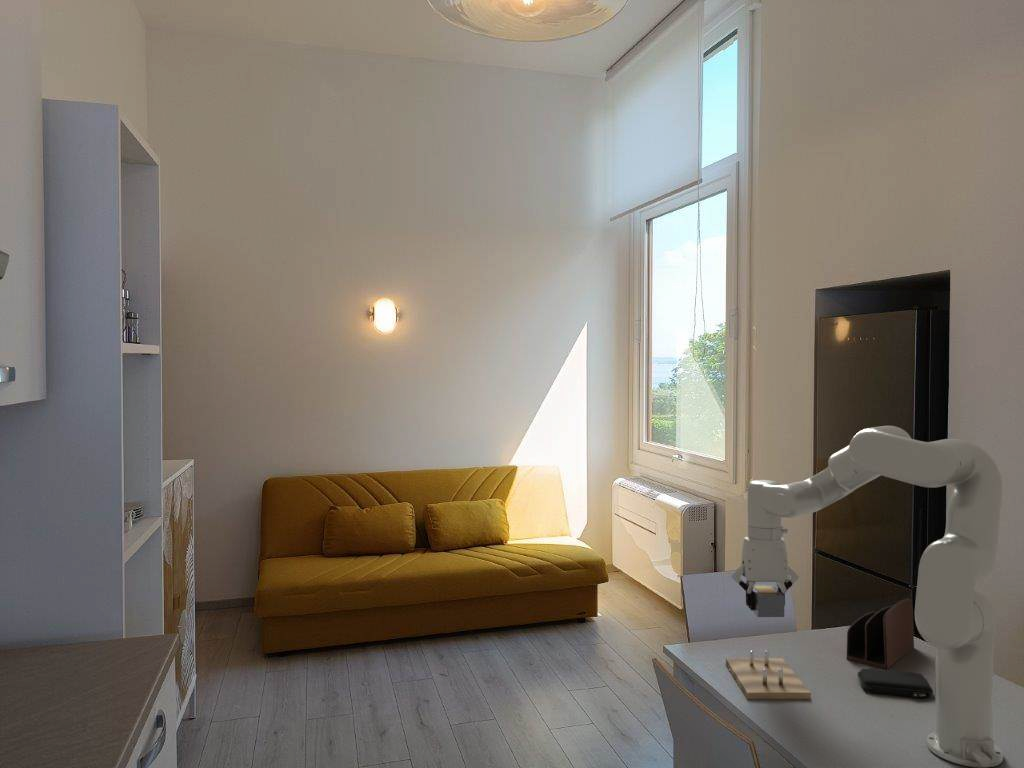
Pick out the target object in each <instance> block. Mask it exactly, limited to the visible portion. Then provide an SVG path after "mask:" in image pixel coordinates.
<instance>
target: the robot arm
mask: <svg viewBox="0 0 1024 768" xmlns="http://www.w3.org/2000/svg"><path fill="white" fill-rule="evenodd" d="M827 462H828V463H827V464H828V466H827V467H826V468H824V469H823V470H822V471H820V472H818V473H816V474H814V475H813V476H811V477H809V478H807V479H805V480H802V481H796V482H795V481H794V482H790V483H787V484H780V483H779V482H777V481H775V480H770V479H754V480H751V481H749V483H748V485H747V536H745V537H744V538H743V543H742V550H741V560H740V562H741V563H740V566H739V568H738V569H736V571H735V572H733V573H732V574H731V579H732V580H734V581H735V582H736V584H738V585H739V586H740V587H741V588H742V589H743V590H744V591H745V605H746V606H747V607H748V609H750V611H752V610H754V594H753V588H754V585H755V584H756V583H775V584H776V586H777V587H776V588H777V589H778V590H779V591H780V592H781V593H782V594H783V595H784V607H785V606H786V594H787V592H788V590H789V589H790V588H791V587H792V586H793V584H795V582H797V580H799V579H800V576H799V575H798V574H797V573H796V572H795V571H794V570H793V569H792V568H791V567H790V566H789V559H788V552H787V546H786V542H785V539H784V538H783V536H784V534H786V535H787V534H788V528H787V527H783V526H782V518H783V519H792V518H793V519H794V518H796V517H801V516H804V515H809V514H813V513H815V512H818V511H821V510H823V509H824V508H826V507H829V506H831V505H832V504H834V503H836V502H838V501H840V500H841V499H842V500H843V498H845V497H847V496H848V495H849V494H852V493H853V492H854V491H855V490H857V489H859V488H860V487H862V486H864V485H866V484H868V483H870V482H872V481H874V480H875V479H878V477H881V476H883V477H886V478H889V479H893V480H897V481H900V482H903V483H907V484H911V485H914V486H918V487H923V488H941V487H944V486H948V485H952V493H951V496H950V500H949V503H948V504H947V505H948V506H947V514H946V524H945V530H944V531H945V532H944V536H943V537H942V538H940V539H937V540H935V541H933V542H931V543H930V544H929V545H928V546H927V547H926V548H925V550H924V551H923V553H922V555H921V558H920V560H919V563H918V571H917V574H918V575H917V583H916V584H917V585H916V593H915V604H914V621H915V626H916V628H917V631H918V633H919V634H920V636H921V637H922V638H923V640H925V641H926V643H928V644H929V645H931V646H932V647H934V648H935V654H934V655H935V657H934V659H935V661H934V662H935V663H934V668H935V669H934V671H935V672H934V676H935V677H934V678H935V679H934V681H935V683H934V685H935V687H934V688H935V690H934V692H935V694H934V699H935V700H934V704H935V709H934V710H935V713H934V714H935V730H934V731H932V732H931V733H929V734H928V735H927V736H926V746H927V747H928V749H929V750H930V751H931V752H932V753H934V754H935V755H936V756H938V757H939V758H941V759H944V760H945V761H948V762H950V763H953V764H956V765H960V766H964V767H971V768H994V767H997V766H999V765H1000V764H1002V762H1003V761H1004V752H1003V751H1002V749H1001V748H1000V747H999V746H998V745H997V744H996V743H995V740H994V653H995V649H994V648H995V643H996V642H995V641H996V636H997V635H996V634H997V625H998V623H997V622H998V616H997V610H996V607H995V604H994V603H993V601H992V600H991V598H990V597H989V596H988V594H985V593H984V592H983V591H982V590H980V589H978V588H976V586H977V585H978V584H981V583H983V582H985V581H987V580H988V579H989V578H990V577H991V576H993V574H994V572H995V570H996V566H997V556H998V555H997V554H998V545H999V544H998V542H999V535H1000V521H1001V520H1000V519H1001V517H1000V516H1001V510H1002V509H1001V508H1002V499H1003V479H1002V475H1001V471H1000V469H999V467H998V465H997V463H996V462H995V460H994V459H993V458H992V456H991V455H990V454H989V453H988V452H987V451H986V450H985V449H983V448H982V447H980V446H979V445H977V444H976V443H974V442H971V441H968V440H965V439H960V438H944V439H939V440H934V441H922V440H918V439H914V438H912V437H911V436H910V435H909V433H908V432H907V431H906V430H904V429H902V427H898V426H895V425H882V426H881V425H880V426H874V427H867V428H863V429H862V430H859V431H858V432H857V433H856V434H855V435H853V437H852V438H851V440H850V442H849V445H846V446H845V447H843V448H841V449H840V450H838V451H836V452H835V453H833V454H831V456H829V458H828V461H827ZM741 576H742V577H744V578H745V580H746V581H744V580H743V579H741Z"/></svg>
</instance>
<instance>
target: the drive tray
mask: <svg viewBox="0 0 1024 768" xmlns="http://www.w3.org/2000/svg"><path fill="white" fill-rule="evenodd" d="M748 652H749V654H748V655H749V656H748V657H745V658H743V657H742V658H741V657H740V658H738V657H735V658H734V657H730V658H725V665H726V664H727V665H726V667H727V666H728V667H727V668H729V669H730V670H729V669H728V670H729V671H731V672H730V674H731V675H732V676H734V677H733V678H734V680H735V679H736V680H735V681H737V682H736V683H737V684H739V685H738V686H739V688H740V690H741V689H742V690H741V691H742V693H743V692H744V693H743V694H744V696H745V695H746V696H745V697H747V698H746V699H747V700H811V699H812V697H811V693H812V692H811V691H810V690H809V689H808V687H807V686H806V685H805V684H804V683H803V681H802V680H801V679H800V678H799V676H797V674H796V673H795V672H794V671H793V669H792V668H791V667H790V666H789V664H788V663H787V662H786V661H785V660H784V658H782V657H778V658H777V657H774V658H773V657H770V656H769V650H764V651H763V654H764V656H763V657H762V658H761V657H760V658H759V657H758V658H757V657H755V653H754V650H749V651H748Z"/></svg>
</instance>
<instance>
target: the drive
mask: <svg viewBox="0 0 1024 768" xmlns="http://www.w3.org/2000/svg"><path fill="white" fill-rule="evenodd" d="M753 594H754V610H751V611H752V612H753V613H754V614H755V616H756V617H757V618H785V606H784V595H783V594H782V593H781V592H780V591H779V590H778V587H775V586H774V585H773V584H766V583H765V584H764V583H763V584H756V583H755V585H754V588H753Z"/></svg>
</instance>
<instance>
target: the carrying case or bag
mask: <svg viewBox="0 0 1024 768" xmlns="http://www.w3.org/2000/svg"><path fill="white" fill-rule="evenodd" d="M857 678H858V680H859V682H860V686H861V687H862V688H863V689H864V690H865V691H866V692H867V693H871V694H879V695H890V696H899V697H911V698H920V697H921V698H920V699H927V698H930V697H931V696H933V694H934V690H933V688H932V687H931V684H929V681H928V680H927V678H925V677H924V675H923V674H921V673H917V672H910V671H909V672H907V671H898V670H889V669H878V668H877V669H875V668H862V669H860V670H859V671H858V673H857Z"/></svg>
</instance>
